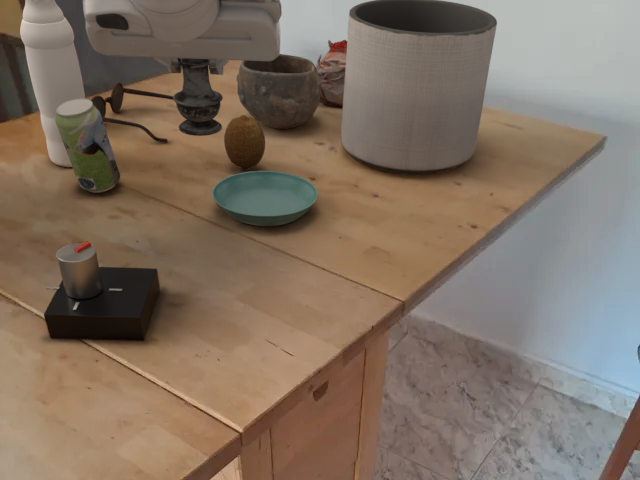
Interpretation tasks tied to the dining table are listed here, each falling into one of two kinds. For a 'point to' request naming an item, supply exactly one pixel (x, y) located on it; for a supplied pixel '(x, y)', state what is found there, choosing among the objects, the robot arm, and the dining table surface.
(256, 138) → the fruit
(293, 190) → the saucer
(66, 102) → the beverage can
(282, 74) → the bowl
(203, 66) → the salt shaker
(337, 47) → the food item
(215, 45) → the robot arm
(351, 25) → the planter
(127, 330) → the dial base
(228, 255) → the dining table surface
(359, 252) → the dining table surface
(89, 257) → the hob knob
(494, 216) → the dining table surface
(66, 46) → the water bottle
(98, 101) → the eyeglasses
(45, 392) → the dining table surface
